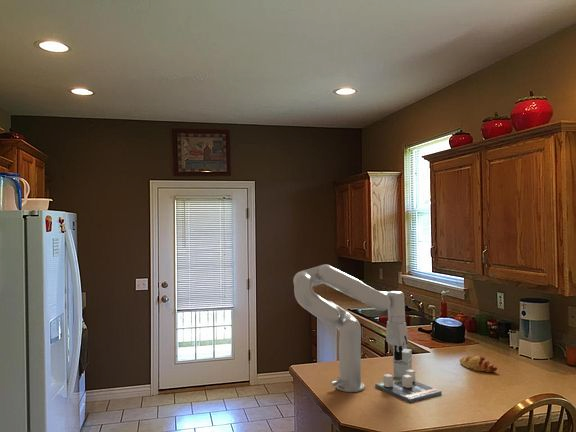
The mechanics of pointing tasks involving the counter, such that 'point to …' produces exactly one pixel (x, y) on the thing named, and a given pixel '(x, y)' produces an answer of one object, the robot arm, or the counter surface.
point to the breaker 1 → (388, 380)
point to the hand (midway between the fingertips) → (398, 359)
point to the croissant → (478, 364)
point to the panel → (409, 390)
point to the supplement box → (403, 363)
